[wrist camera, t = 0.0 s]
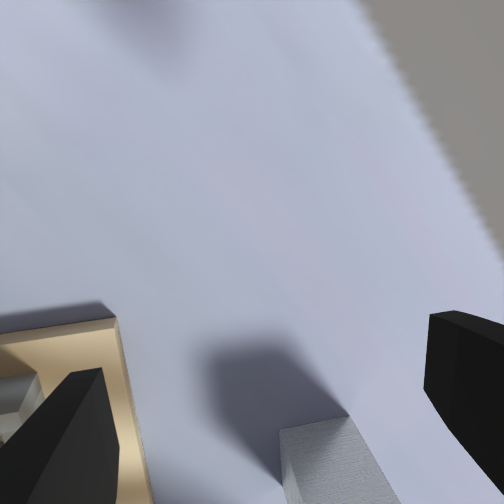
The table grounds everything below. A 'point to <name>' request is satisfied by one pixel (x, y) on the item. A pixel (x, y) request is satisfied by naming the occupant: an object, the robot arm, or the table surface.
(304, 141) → the table surface
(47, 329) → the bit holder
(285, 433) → the brushed aluminum block
